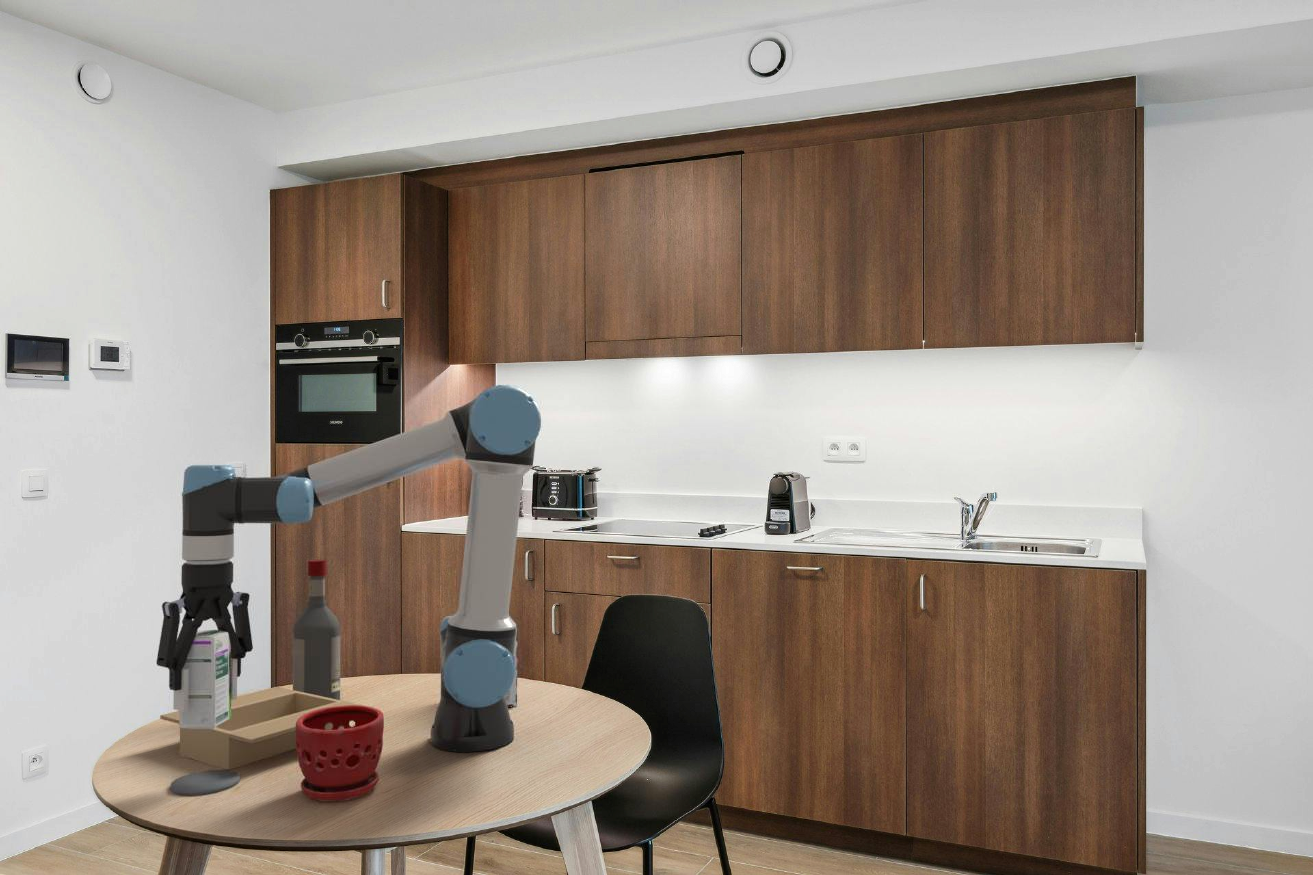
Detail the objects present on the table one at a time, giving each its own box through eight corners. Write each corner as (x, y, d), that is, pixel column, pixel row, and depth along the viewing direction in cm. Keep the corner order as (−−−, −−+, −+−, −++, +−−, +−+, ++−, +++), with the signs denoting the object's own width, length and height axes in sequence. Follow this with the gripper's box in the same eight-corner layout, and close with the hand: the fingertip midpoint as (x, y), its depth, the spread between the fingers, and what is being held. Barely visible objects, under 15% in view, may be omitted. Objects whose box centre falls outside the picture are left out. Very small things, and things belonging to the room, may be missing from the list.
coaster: (253, 780, 153) (253, 776, 153) (194, 800, 144) (194, 796, 144) (215, 769, 158) (215, 765, 158) (157, 787, 150) (157, 783, 150)
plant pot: (283, 789, 149) (284, 713, 149) (365, 772, 157) (366, 700, 157) (310, 815, 139) (311, 733, 139) (396, 795, 147) (397, 717, 147)
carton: (366, 738, 175) (366, 706, 175) (250, 776, 155) (251, 739, 155) (276, 717, 189) (277, 686, 189) (159, 749, 168) (160, 715, 169)
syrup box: (214, 729, 148) (216, 636, 149) (177, 728, 149) (178, 636, 149) (231, 719, 154) (233, 629, 154) (195, 718, 154) (197, 629, 154)
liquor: (293, 711, 193) (295, 563, 194) (292, 700, 202) (293, 559, 202) (340, 706, 197) (341, 562, 197) (337, 695, 205) (338, 557, 206)
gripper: (250, 553, 162) (248, 687, 162) (130, 565, 145) (128, 715, 145) (278, 556, 158) (276, 693, 158) (158, 569, 141) (156, 723, 141)
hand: (205, 703), depth 151 cm, fingers closed on syrup box, 8 cm apart
